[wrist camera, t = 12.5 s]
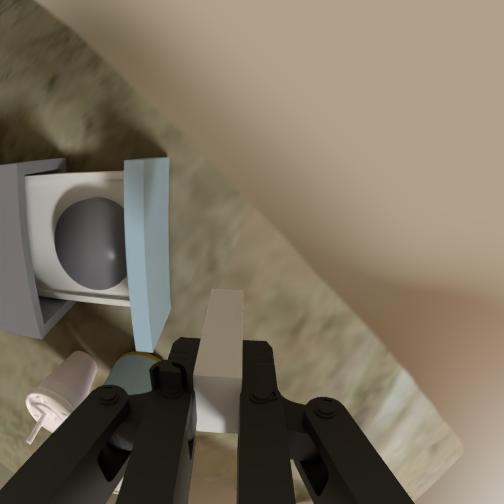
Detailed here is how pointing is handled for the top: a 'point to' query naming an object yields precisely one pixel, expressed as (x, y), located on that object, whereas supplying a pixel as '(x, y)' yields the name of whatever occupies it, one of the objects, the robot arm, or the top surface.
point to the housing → (23, 256)
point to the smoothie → (61, 392)
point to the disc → (92, 243)
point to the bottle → (132, 376)
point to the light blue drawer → (136, 239)
